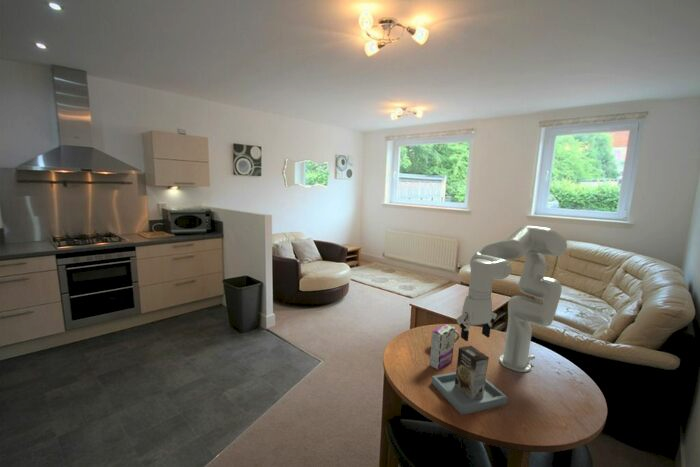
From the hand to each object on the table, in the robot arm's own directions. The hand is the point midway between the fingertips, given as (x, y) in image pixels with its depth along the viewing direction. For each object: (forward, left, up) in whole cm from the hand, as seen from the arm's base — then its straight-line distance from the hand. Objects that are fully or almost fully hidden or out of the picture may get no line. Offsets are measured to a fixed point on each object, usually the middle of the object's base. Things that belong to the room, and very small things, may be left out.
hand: (475, 337), depth 115 cm
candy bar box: (-1, -20, -23) cm, 30 cm away
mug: (-11, -31, -23) cm, 40 cm away
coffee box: (0, 0, -22) cm, 22 cm away
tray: (+1, 0, -23) cm, 23 cm away
